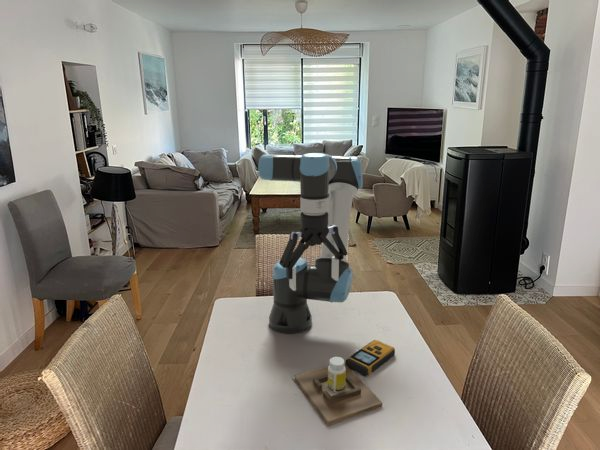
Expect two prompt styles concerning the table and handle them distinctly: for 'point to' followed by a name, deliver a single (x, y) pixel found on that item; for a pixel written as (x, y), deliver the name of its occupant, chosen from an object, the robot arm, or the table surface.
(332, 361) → the supplement bottle
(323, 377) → the board
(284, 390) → the table surface
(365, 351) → the electronic device
